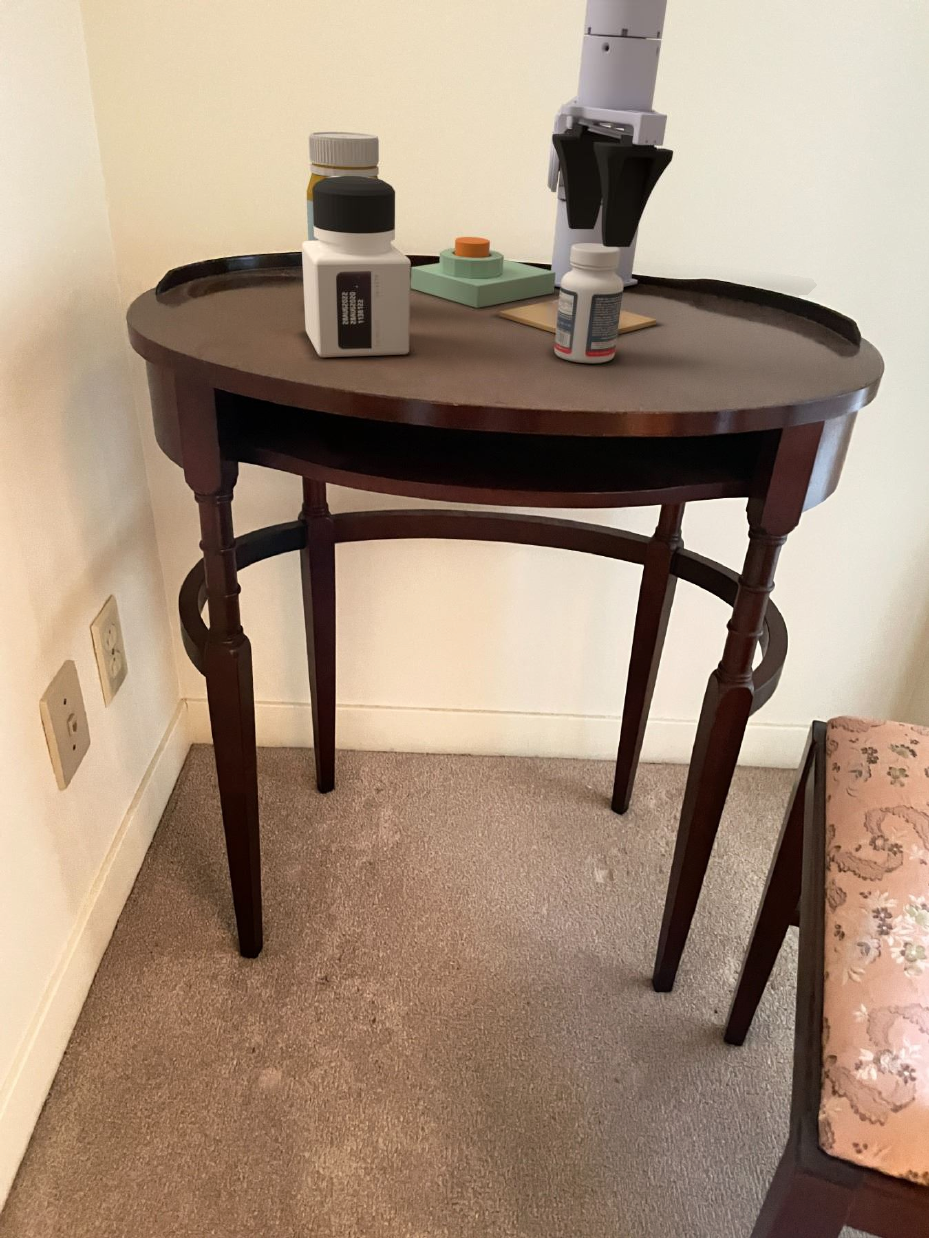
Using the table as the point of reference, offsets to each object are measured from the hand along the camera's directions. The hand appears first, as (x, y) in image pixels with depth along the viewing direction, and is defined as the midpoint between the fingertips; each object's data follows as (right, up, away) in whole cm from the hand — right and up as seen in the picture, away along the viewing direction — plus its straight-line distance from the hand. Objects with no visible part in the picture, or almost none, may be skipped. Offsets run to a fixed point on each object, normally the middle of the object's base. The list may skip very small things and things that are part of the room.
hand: (598, 237), depth 73 cm
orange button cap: (-10, +7, +21) cm, 24 cm away
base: (-9, +4, +24) cm, 26 cm away
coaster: (0, -2, +15) cm, 15 cm away
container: (-20, -7, +5) cm, 22 cm away
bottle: (-22, -1, +15) cm, 27 cm away
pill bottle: (-1, -8, +5) cm, 10 cm away
